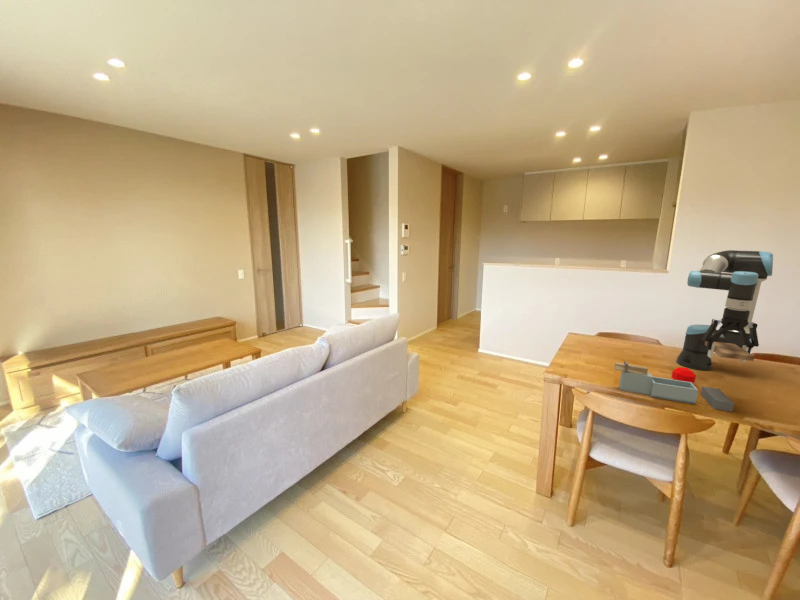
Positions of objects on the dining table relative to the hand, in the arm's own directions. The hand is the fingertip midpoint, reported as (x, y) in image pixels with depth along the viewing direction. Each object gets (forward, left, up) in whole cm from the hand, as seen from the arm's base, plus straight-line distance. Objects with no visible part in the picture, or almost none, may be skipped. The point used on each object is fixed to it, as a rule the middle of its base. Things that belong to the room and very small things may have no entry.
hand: (725, 358), depth 141 cm
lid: (0, 0, +3) cm, 3 cm away
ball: (-17, -7, -21) cm, 28 cm away
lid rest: (0, 0, -21) cm, 21 cm away
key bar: (+2, -33, -12) cm, 35 cm away
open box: (+2, -17, -21) cm, 27 cm away
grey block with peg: (+2, -31, -21) cm, 37 cm away
